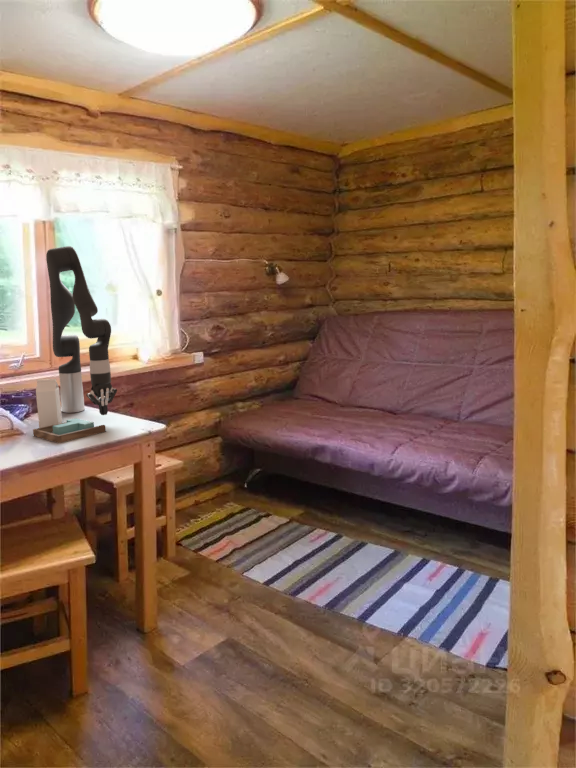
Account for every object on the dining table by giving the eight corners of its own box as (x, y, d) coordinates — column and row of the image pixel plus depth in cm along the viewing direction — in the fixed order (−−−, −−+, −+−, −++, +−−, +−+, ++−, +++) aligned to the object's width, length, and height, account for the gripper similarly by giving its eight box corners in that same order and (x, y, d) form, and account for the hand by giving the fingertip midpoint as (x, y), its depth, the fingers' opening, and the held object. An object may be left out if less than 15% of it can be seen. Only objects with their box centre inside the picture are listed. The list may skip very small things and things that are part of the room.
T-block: (47, 434, 224) (46, 424, 223) (76, 428, 233) (75, 418, 232) (65, 439, 216) (64, 428, 216) (94, 432, 226) (93, 422, 225)
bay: (33, 436, 223) (32, 429, 222) (79, 425, 237) (79, 419, 237) (58, 443, 212) (58, 436, 211) (105, 431, 226) (105, 425, 226)
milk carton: (58, 428, 233) (54, 380, 229) (39, 430, 232) (34, 381, 228) (62, 424, 240) (58, 377, 236) (43, 425, 239) (39, 378, 235)
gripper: (109, 367, 239) (112, 410, 243) (79, 372, 229) (83, 416, 233) (120, 369, 235) (123, 412, 238) (91, 374, 225) (94, 419, 228)
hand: (103, 414), depth 235 cm, fingers closed
